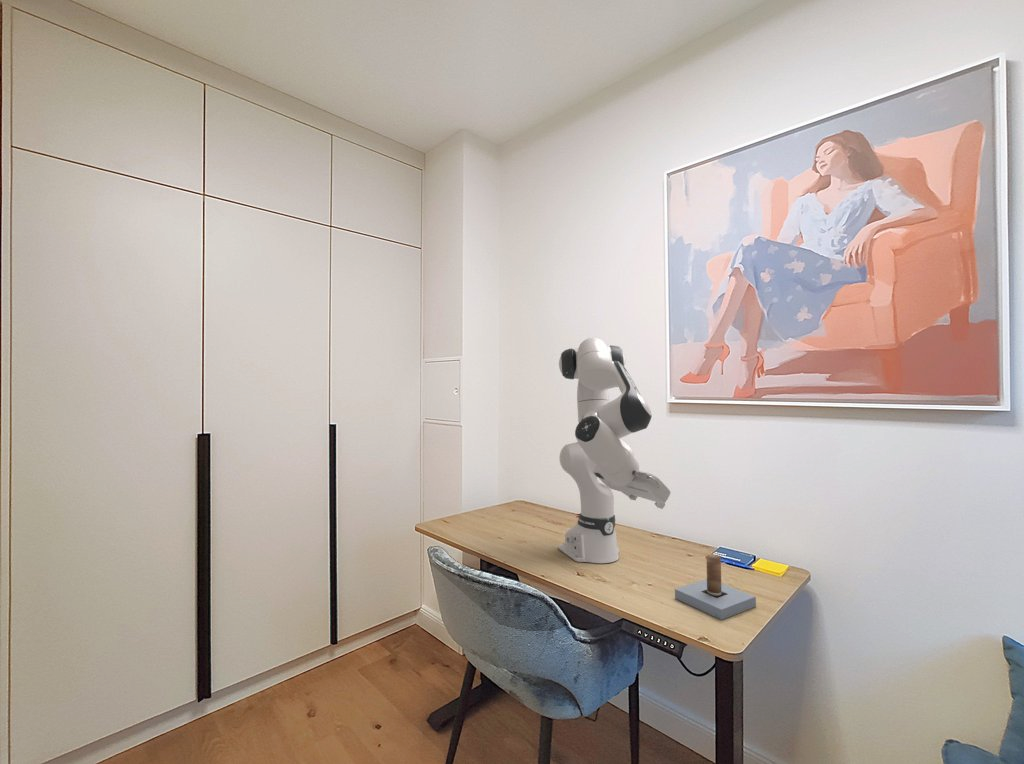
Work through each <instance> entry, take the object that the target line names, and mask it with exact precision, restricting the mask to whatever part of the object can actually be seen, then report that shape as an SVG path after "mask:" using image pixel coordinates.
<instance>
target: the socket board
mask: <svg viewBox="0 0 1024 764" xmlns="http://www.w3.org/2000/svg"><path fill="white" fill-rule="evenodd" d="M721 591H722V597H719V598H715V597H713V596H710V595H708V594H707V578H705V579H702V580H699V581H696V582H693V583H689V584H687V585H683V586H679V587H677V588H674V599H675V600H677V601H680V602H682V603H684V604H686V605H688V606H690V607H693V608H694V609H697V610H699V611H701V612H704V613H705V614H707V615H710V616H712V617H714V618H717V620H718V619H719V620H721V621H723V620H725V619H728V618H730V617H733V616H736V615H737V614H740V613H743V612H746V611H749V610H751V609H753V608H755V607H757V597H756V596H754V595H752V594H749V593H747V592H745V591H742V590H740V589H737V588H735V587H732V586H730V585H727V584H724V583H723V582H721Z"/></svg>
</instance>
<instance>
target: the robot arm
mask: <svg viewBox="0 0 1024 764" xmlns="http://www.w3.org/2000/svg"><path fill="white" fill-rule="evenodd" d="M625 366H626V357H625V354H624V352H623V348H621V347H620V346H617V345H610V346H609V345H607V344H606V342H605V341H604V340H602V339H601V338H597V337H588V338H585V339H584V340H583V341H582V342H581V343H580V344H579V346H578V347H577V348H568V349H565V350H563V351H562V352H561V354H560V357H559V360H558V367H559V368H558V369H559V371H560V373H561V376H562V377H564V379H568V380H574V379H576V380H578V381H577V388H576V389H577V391H576V403H577V405H576V406H577V418H578V420H577V421H578V424H577V425H576V427H575V431H574V437H575V438H576V441H577V442H571V443H568V444H565V445H564V446H563V447H562V448H561V449H560V453H559V464H560V466H561V468H562V470H563V471H564V472H565V473H567V474H568V475H569V476H570V477H571V478H572V479H573V480H574V482H575V484H576V485H577V487H578V492H579V498H580V513H577V514H575V515H576V516H575V518H578V519H577V523H576V524H575V525H574V526H572V527H571V528H569V529H568V530H567V531H566V533H565V536H564V537H565V539H564V542H562V543H560V544H559V545H558V548H557V549H558V550H560V551H561V552H563V553H564V554H565V555H566V556H568V557H569V558H570V559H572V560H573V561H575V562H577V563H584V562H585V563H590V564H591V563H592V564H609V563H613V562H616V561H618V560H619V559H620V555H619V554H620V549H619V547H618V539H617V538H618V537H617V531H616V528H615V527H616V515H615V514H614V508H615V507H614V502H615V501H614V492H613V491H612V490H614V491H618V492H620V493H623V494H624V495H625V496H627V498H628V499H630V500H631V501H636V500H637V499H638V498H642V499H645V500H648V501H652V502H654V505H655V506H656V508H657V509H661V510H663V509H664V507H665V506H666V502H667V500H668V499H669V497H670V495H671V490H670V489H669V488H668V487H667V486H666V485H667V484H666V483H664V482H663V481H662V480H661V479H660V478H659V477H657V476H656V475H655V474H652V473H649V472H645V471H640V464H639V463H638V460H637V459H636V458H635V456H634V455H635V454H634V451H633V450H632V449H633V448H631V446H630V445H629V444H628V443H626V442H625V441H624V440H623V439H622V438H624V437H626V436H629V435H631V434H634V433H637V432H639V431H643V430H645V429H647V428H648V427H649V424H650V422H651V420H652V410H651V408H650V406H649V404H648V403H647V401H646V400H645V399H644V398H643V396H642V395H641V393H640V392H639V391H640V390H639V389H638V388H637V385H636V384H635V382H634V380H633V378H632V377H631V375H630V373H629V372H628V371H627V369H626V368H625ZM614 388H618V389H619V391H620V393H621V394H620V395H619V396H618V397H617V398H615V399H613V400H611V401H610V396H609V391H608V390H609V389H614ZM598 479H599V480H600V481H601V482H602V483H601V482H599V481H598Z"/></svg>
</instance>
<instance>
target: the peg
mask: <svg viewBox="0 0 1024 764" xmlns="http://www.w3.org/2000/svg"><path fill="white" fill-rule="evenodd" d="M706 579H707V594H708V595H710V596H713V597H715V598H719V597H722V591H721V583H722V557H721V555H718V554H714V553H708V554H706Z"/></svg>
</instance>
